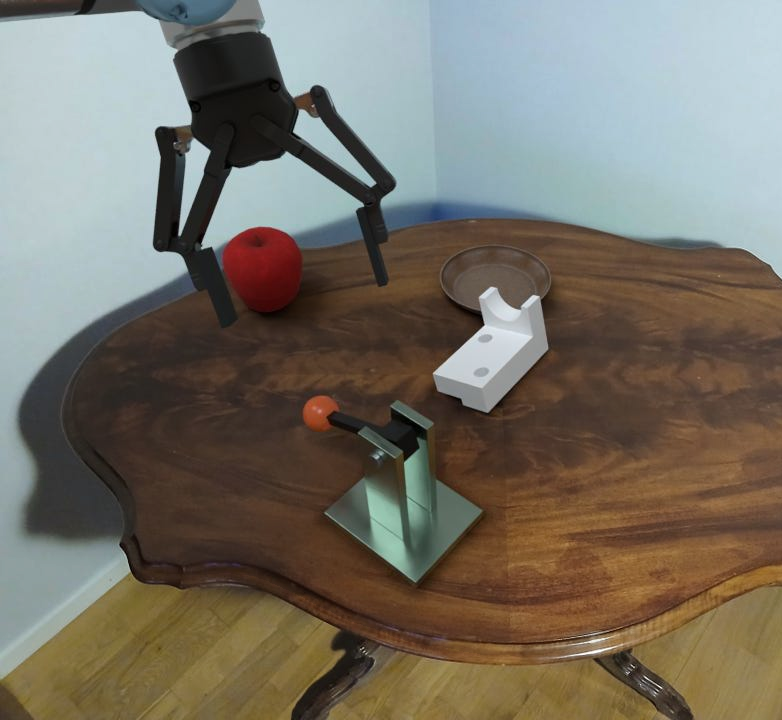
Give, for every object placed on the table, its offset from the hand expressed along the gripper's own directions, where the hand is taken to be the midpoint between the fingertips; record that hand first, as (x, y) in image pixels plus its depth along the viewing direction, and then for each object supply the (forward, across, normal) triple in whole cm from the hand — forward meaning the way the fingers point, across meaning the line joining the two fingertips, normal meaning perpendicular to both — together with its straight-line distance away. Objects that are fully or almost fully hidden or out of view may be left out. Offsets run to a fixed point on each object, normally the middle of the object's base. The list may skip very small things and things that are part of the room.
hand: (307, 303), depth 62 cm
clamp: (+24, -2, -3) cm, 24 cm away
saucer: (+11, -17, -35) cm, 40 cm away
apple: (+5, +12, -33) cm, 36 cm away
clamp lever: (+14, 0, -2) cm, 14 cm away
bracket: (+17, -14, -21) cm, 31 cm away
